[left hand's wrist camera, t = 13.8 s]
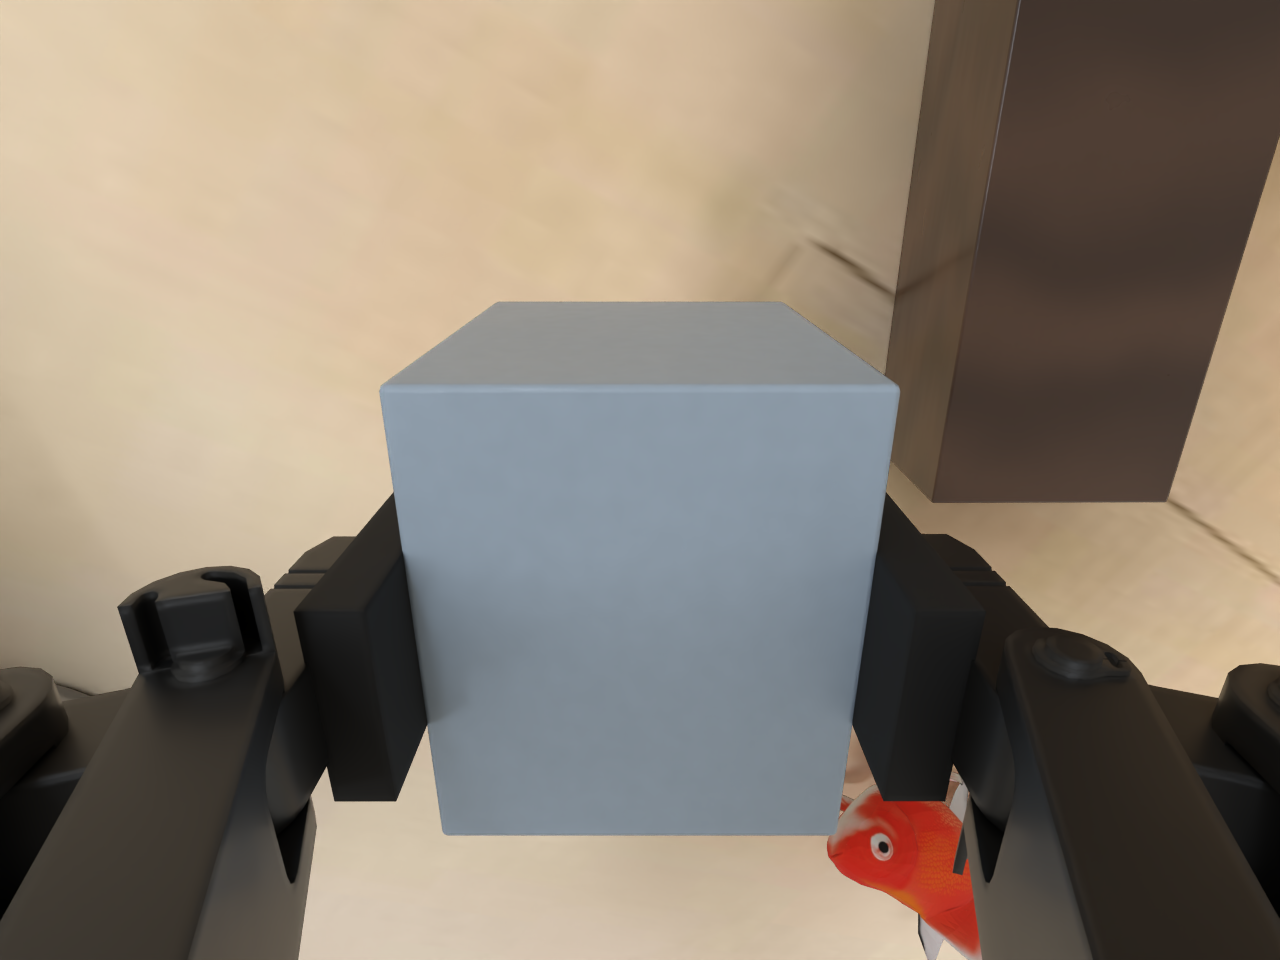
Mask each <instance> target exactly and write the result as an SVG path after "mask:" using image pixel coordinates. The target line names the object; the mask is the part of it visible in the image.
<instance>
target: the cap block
mask: <svg viewBox="0 0 1280 960" xmlns="http://www.w3.org/2000/svg"><path fill="white" fill-rule="evenodd" d="M379 392H380V399H381V406H382V413H383V420H384V427H385V434H386V441H387V448H388V455H389V462H390V469H391V476H392V483H393V489H394V496H395V503H396V510H397V517H398V524H399V531H400V538H401V545H402V551H403V557H404V564H405V571H406V578H407V585H408V592H409V599H410V605H411V612H412V619H413V626H414V633H415V640H416V647H417V654H418V661H419V668H420V675H421V682H422V689H423V696H424V703H425V710H426V717H427V726H428V733H429V740H430V747H431V754H432V761H433V768H434V775H435V782H436V789H437V796H438V803H439V810H440V817H441V823H442V830H443V833H444V834H446V835H834V834H835V833H836V832H837V826H838V819H839V813H840V806H841V799H842V792H843V785H844V778H845V771H846V764H847V757H848V750H849V743H850V736H851V729H852V720H853V713H854V706H855V699H856V692H857V685H858V678H859V671H860V664H861V658H862V651H863V644H864V637H865V630H866V623H867V616H868V609H869V602H870V595H871V588H872V581H873V574H874V567H875V560H876V553H877V549H878V542H879V535H880V529H881V522H882V515H883V508H884V501H885V494H886V487H887V480H888V473H889V466H890V459H891V452H892V445H893V438H894V432H895V425H896V418H897V411H898V404H899V397H900V389H899V385H897V384H896V383H894V382H893V381H892V380H890V379H889V378H887V377H886V376H885V375H883V374H882V373H880V372H879V371H878V370H876V369H875V368H874V367H872V366H871V365H869V364H868V363H867V362H865V361H864V360H862V359H861V358H860V357H858V356H857V355H855V354H854V353H853V352H851V351H850V350H849V349H847V348H846V347H844V346H843V345H842V344H840V343H839V342H837V341H836V340H835V339H833V338H832V337H830V336H829V335H828V334H826V333H825V332H823V331H822V330H821V329H819V328H818V327H817V326H815V325H814V324H812V323H811V322H810V321H808V320H807V319H805V318H804V317H803V316H801V315H800V314H798V313H797V312H796V311H794V310H793V309H792V308H790V307H789V306H787V305H786V304H785V303H782V302H497V303H495V304H494V305H492V306H491V307H489V308H488V309H487V310H485V311H484V312H482V313H481V314H480V315H478V316H477V317H476V318H474V319H473V320H471V321H470V322H469V323H467V324H466V325H464V326H463V327H462V328H460V329H459V330H457V331H456V332H455V333H453V334H452V335H450V336H449V337H448V338H446V339H445V340H444V341H442V342H441V343H439V344H438V345H437V346H435V347H434V348H432V349H431V350H430V351H428V352H427V353H425V354H424V355H423V356H421V357H420V358H418V359H417V360H416V361H414V362H413V363H412V364H410V365H409V366H407V367H406V368H405V369H403V370H402V371H400V372H399V373H398V374H396V375H395V376H393V377H392V378H391V379H389V380H388V381H386V382H385V383H384V384H382V385H381V387H380V391H379Z"/></svg>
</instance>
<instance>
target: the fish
mask: <svg viewBox="0 0 1280 960" xmlns="http://www.w3.org/2000/svg"><path fill="white" fill-rule="evenodd" d="M950 781H955V782H959V783H960V784H959V786H958V787H957V789H956V791H955V794H954V796H953V799H952V802H951V804H950V807H949V808H948V807H947V806H946V805H944V804H943V803H942V802H940V801H883V799H882V797H881V794H880V792H879V789H878V787H877V784H876V785H872V786H870V787H869V788H867V789H866V790H865V791H864V792H863V793H862V794H861V795H859V796H858V797H857V798H856V799H855V800H853V799H851V798H849V797H847V796H844V795H842V799H841V806H840V810H841V811H844V812H843V813H842V815H841V816H840V817H839V819H838V826H837V832H836V833H835V834H834V835H829V838H828V842H827V851H828V857H829V858H830V859H831V860H832V862H833V863H834V864H835V866H836V867H837V869H838V870H839V871H840V872H841V873H842V874H843V875H845V876H846V877H848V878H850V879H852V880H854V881H856V882H857V883H859V884H861V885H864V886H867V887H871V888H874V889H877V890H880V891H883V892H885V893H887V894H889V895H890V896H892V897H894V898H895V899H897V900H898V901H900V902H901V903H902V904H904V905H906V906H907V907H909V908H911V909H912V910H914V911H916V912H917V913H918V934H919V937H920V940H921V942H922V945H923V948H924V951H925V954H926V956H927V959H928V960H936V958H937V955H938V952H939V949H940V947H941V944H942V942H943V939H944V940H946V941H947V942H948V943H949V944H950V945H951V946H952V947H954V948H955V949H956V950H957V951H958V952H959V953H960V954H962V955H963V956H964V957H965V958H966V959H968V960H982V954H981V947H980V940H979V933H978V926H977V919H976V912H975V905H974V898H973V890H972V883H971V876H970V869H969V862H968V859H967V860H966V863H965V867H964V871H963V875H959V874H955V873H952V872H953V865H954V858H955V854H956V850H957V845H958V841H959V837H960V832H961V828H962V824H963V820H964V815H965V811H966V807H967V799H968V789H967V787H966V785H965V784H964V782H963V780H962V778H961V776H960V775H959V774H957V773H955V772H951V776H950Z"/></svg>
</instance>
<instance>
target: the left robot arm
mask: <svg viewBox="0 0 1280 960" xmlns="http://www.w3.org/2000/svg"><path fill="white" fill-rule="evenodd" d="M117 608H118V611H119V614H120V617H121V620H122V623H123V626H124V629H125V632H126V635H127V638H128V641H129V644H130V647H131V650H132V653H133V656H134V659H135V663H136V666H137V669H138V672H139V675H138V676H137V678H136V680H135V682H134V684H133V685H132V687H131V688H129V689H125V690H120V691H114V692H109V693H104V694H99V695H93V696H89V695H87V694H84V693H81V692H78V691H76V690H73V689H70V688H67V687H63V686H59V685H56V684H55V682H54V680H53V677H52V676H51V675H50V674H48V673H47V672H45V671H44V670H42V669H39V668H28V667H15V668H7V669H0V960H298V957H299V949H300V942H301V935H302V928H303V921H304V914H305V907H306V899H307V892H308V885H309V878H310V871H311V864H312V857H313V849H314V842H315V835H316V828H317V825H316V818H315V811H314V807H313V802H312V798H311V794H312V792H313V790H314V788H315V786H316V785H317V783H318V781H319V779H320V777H321V776H322V774H323V772H324V770H325V768H326V767H327V769H328V774H329V778H330V783H331V787H332V792H333V797H334V801H396V800H397V798H398V796H399V793H400V791H401V788H402V786H403V783H404V781H405V778H406V776H407V773H408V771H409V768H410V766H411V763H412V761H413V758H414V756H415V754H416V751H417V749H418V746H419V744H420V741H421V739H422V736H423V734H424V731H425V729H426V726H427V717H426V710H425V703H424V696H423V689H422V682H421V675H420V668H419V661H418V654H417V647H416V640H415V633H414V626H413V619H412V612H411V605H410V599H409V592H408V585H407V578H406V571H405V564H404V557H403V551H402V545H401V538H400V531H399V524H398V517H397V510H396V503H395V496H394V492H393V493H392V495H391V496H390V497H389V498H388V499H387V501H386V502H385V503H384V504H383V505H382V507H381V508H380V509H379V510H378V511H377V512H376V514H375V515H374V516H373V517H372V518H371V520H370V521H369V522H368V523H367V524H366V526H365V527H364V528H363V529H362V530H361V531H360V533H359V534H358V535H357V536H356V537H332V538H330V539H328V540H326V541H324V542H323V543H321V544H319V545H317V546H315V547H314V548H312V549H310V550H308V551H306V552H305V553H304V554H303V555H302V556H301V557H300V558H299V559H298V561H297V562H296V563H295V564H294V565H293V566H292V567H291V568H290V569H289V573H288V574H284V575H283V576H282V577H281V578H280V580H279V581H278V582H277V583H276V584H275V585H274V589H270V590H269V591H268V592H267V593H266V594H265V595H264V593H263V588H262V584H261V580H260V576H259V575H257V574H256V573H254V572H253V571H251V570H250V569H246V568H240V567H234V566H220V567H205V568H200V569H195V570H190V571H185V572H180V573H177V574H174V575H172V576H169V577H166V578H163V579H160V580H157V581H155V582H152V583H151V584H149V585H147V586H145V587H143V588H141V589H139V590H138V591H136V592H134V593H132V594H131V595H130V596H129V597H128V598H126V599H125V600H124V601H123V602H122V603H121V604H120V605H119V606H118V607H117ZM852 725H853V727H854V730H855V732H856V735H857V737H858V740H859V742H860V745H861V747H862V750H863V752H864V755H865V757H866V760H867V762H868V765H869V767H870V769H871V772H872V774H873V777H874V779H875V782H876V784H877V787H878V789H879V792H880V794H881V797H882V799H883V801H945V799H946V794H947V790H948V785H949V780H950V776H951V771H952V767H953V764H954V766H955V767H956V769H957V771H958V773H959V775H960V776H961V778H962V780H963V782H964V784H965V785H966V787H967V789H968V791H969V792H970V794H969V798H968V802H967V807H966V811H965V815H964V820H963V824H962V828H961V832H960V837H959V841H958V845H957V850H956V854H955V858H954V865H953V872H952V873H955V874H959V875H963V871H964V867H965V863H966V860H967V859H968V862H969V869H970V876H971V883H972V890H973V898H974V905H975V912H976V919H977V926H978V933H979V940H980V947H981V954H982V960H1280V666H1277V665H1270V664H1262V663H1259V664H1248V665H1239V666H1238V667H1236V668H1235V669H1233V670H1232V671H1230V672H1229V673H1228V675H1227V678H1226V680H1225V683H1224V686H1223V688H1222V691H1221V693H1220V696H1219V698H1215V697H1210V696H1204V695H1199V694H1194V693H1188V692H1183V691H1178V690H1173V689H1167V688H1162V687H1157V686H1152V685H1148V684H1147V682H1146V680H1145V679H1144V677H1143V675H1142V673H1141V672H1140V671H1139V670H1138V669H1137V667H1136V666H1135V665H1134V664H1133V663H1132V662H1131V661H1130V660H1129V658H1127V657H1126V656H1124V655H1123V654H1121V653H1120V652H1118V651H1116V650H1115V649H1113V648H1112V647H1110V646H1109V645H1107V644H1105V643H1102V642H1100V641H1097V640H1095V639H1093V638H1090V637H1088V636H1085V635H1083V634H1079V633H1075V632H1071V631H1067V630H1062V629H1058V628H1049V627H1048V626H1047V625H1046V624H1045V623H1044V622H1043V621H1042V620H1041V619H1040V618H1039V617H1038V616H1037V614H1036V613H1035V612H1034V611H1033V610H1032V609H1031V608H1030V607H1029V606H1028V605H1027V604H1026V603H1025V602H1024V601H1023V600H1022V599H1021V598H1020V597H1019V596H1018V595H1017V594H1016V593H1015V591H1014V590H1013V589H1012V588H1011V587H1010V586H1006V582H1005V581H1004V580H1003V579H1002V578H1001V577H1000V576H999V575H998V574H997V573H996V572H995V571H992V570H991V566H990V565H989V564H988V563H987V562H986V561H985V560H984V559H983V558H982V557H981V556H980V555H979V554H978V553H977V552H976V551H975V550H974V549H973V548H971V547H969V546H967V545H965V544H963V543H962V542H960V541H958V540H956V539H954V538H953V537H951V536H949V535H947V534H921V533H920V532H919V531H918V530H917V528H916V527H915V526H914V525H913V524H912V523H911V521H910V520H909V519H908V518H907V517H906V515H905V514H904V513H903V512H902V511H901V509H900V508H899V507H898V506H897V505H896V504H895V502H894V501H893V500H892V499H891V498H890V496H889V495H888V494H887V493H886V494H885V501H884V508H883V515H882V522H881V529H880V535H879V542H878V549H877V553H876V560H875V567H874V574H873V581H872V588H871V595H870V602H869V609H868V616H867V623H866V630H865V637H864V644H863V651H862V658H861V664H860V671H859V678H858V685H857V692H856V699H855V706H854V713H853V720H852Z"/></svg>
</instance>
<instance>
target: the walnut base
mask: <svg viewBox="0 0 1280 960" xmlns="http://www.w3.org/2000/svg"><path fill="white" fill-rule="evenodd" d="M1279 137H1280V0H935V7H934V15H933V22H932V30H931V37H930V45H929V52H928V60H927V67H926V75H925V82H924V90H923V97H922V105H921V112H920V119H919V127H918V134H917V142H916V149H915V157H914V164H913V172H912V179H911V187H910V194H909V202H908V209H907V217H906V224H905V232H904V239H903V246H902V254H901V261H900V269H899V276H898V284H897V291H896V299H895V306H894V314H893V321H892V329H891V336H890V344H889V351H888V359H887V366H886V373H885V376H886V377H887V378H889V379H890V380H892V381H893V382H894V383H896V384H897V385H899V389H900V397H899V404H898V411H897V418H896V425H895V432H894V438H893V445H892V452H891V459H890V460H891V461H892V462H893V463H894V464H895V465H896V466H897V467H898V468H899V469H900V470H901V471H902V472H903V473H904V474H905V475H906V476H907V477H908V478H909V479H910V480H911V481H912V482H913V483H914V484H915V485H916V486H917V487H918V488H919V490H920V491H921V492H922V493H923V494H924V495H925V496H926V497H927V498H928V499H929V500H930V501H931V502H933V503H1029V502H1166V501H1167V499H1168V496H1169V493H1170V490H1171V486H1172V483H1173V480H1174V477H1175V473H1176V470H1177V467H1178V464H1179V460H1180V457H1181V454H1182V451H1183V448H1184V444H1185V441H1186V438H1187V435H1188V431H1189V428H1190V425H1191V422H1192V418H1193V415H1194V412H1195V409H1196V405H1197V402H1198V399H1199V396H1200V392H1201V389H1202V386H1203V383H1204V380H1205V376H1206V373H1207V370H1208V367H1209V363H1210V360H1211V357H1212V354H1213V350H1214V347H1215V344H1216V341H1217V337H1218V334H1219V331H1220V328H1221V324H1222V321H1223V318H1224V315H1225V312H1226V308H1227V305H1228V302H1229V299H1230V295H1231V292H1232V289H1233V286H1234V282H1235V279H1236V276H1237V273H1238V269H1239V266H1240V263H1241V260H1242V256H1243V253H1244V250H1245V247H1246V244H1247V240H1248V237H1249V234H1250V231H1251V227H1252V224H1253V221H1254V218H1255V214H1256V211H1257V208H1258V205H1259V201H1260V198H1261V195H1262V192H1263V188H1264V185H1265V182H1266V179H1267V176H1268V172H1269V169H1270V166H1271V163H1272V159H1273V156H1274V153H1275V150H1276V146H1277V143H1278V140H1279Z"/></svg>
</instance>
